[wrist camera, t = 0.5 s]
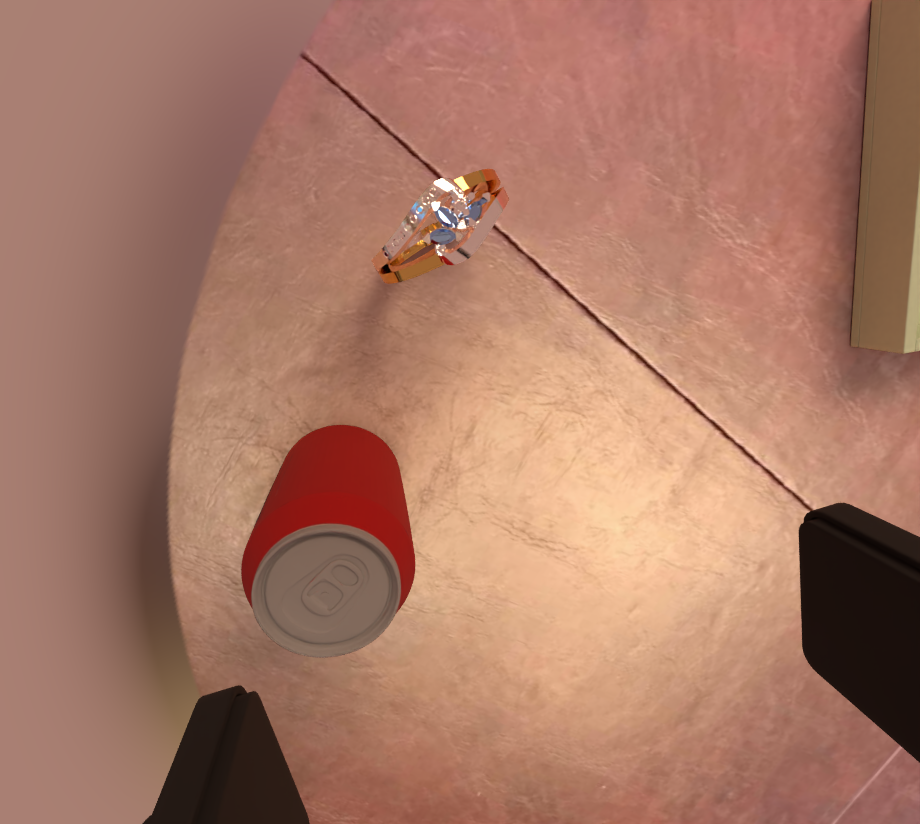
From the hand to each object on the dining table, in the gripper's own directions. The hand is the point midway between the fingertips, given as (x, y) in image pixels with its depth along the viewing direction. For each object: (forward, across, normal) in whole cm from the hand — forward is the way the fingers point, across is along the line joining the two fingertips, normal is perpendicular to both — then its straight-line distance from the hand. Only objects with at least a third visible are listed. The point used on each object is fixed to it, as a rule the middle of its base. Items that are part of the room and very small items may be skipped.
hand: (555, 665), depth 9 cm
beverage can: (+23, +6, +4) cm, 24 cm away
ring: (+23, -2, -8) cm, 24 cm away
